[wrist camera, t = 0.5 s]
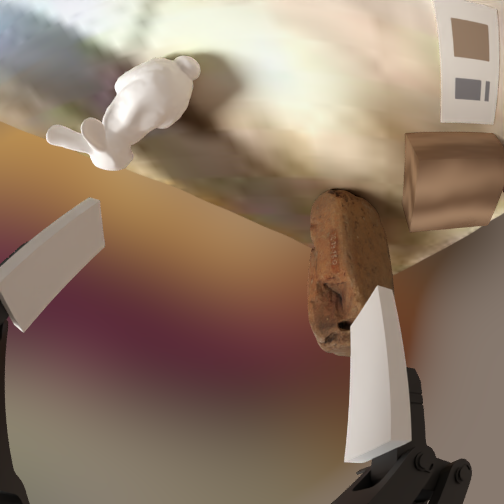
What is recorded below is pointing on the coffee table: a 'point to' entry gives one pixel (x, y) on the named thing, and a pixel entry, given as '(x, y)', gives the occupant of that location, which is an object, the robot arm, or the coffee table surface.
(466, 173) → the tower base
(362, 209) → the block
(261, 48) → the coffee table surface
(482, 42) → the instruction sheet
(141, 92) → the rabbit
